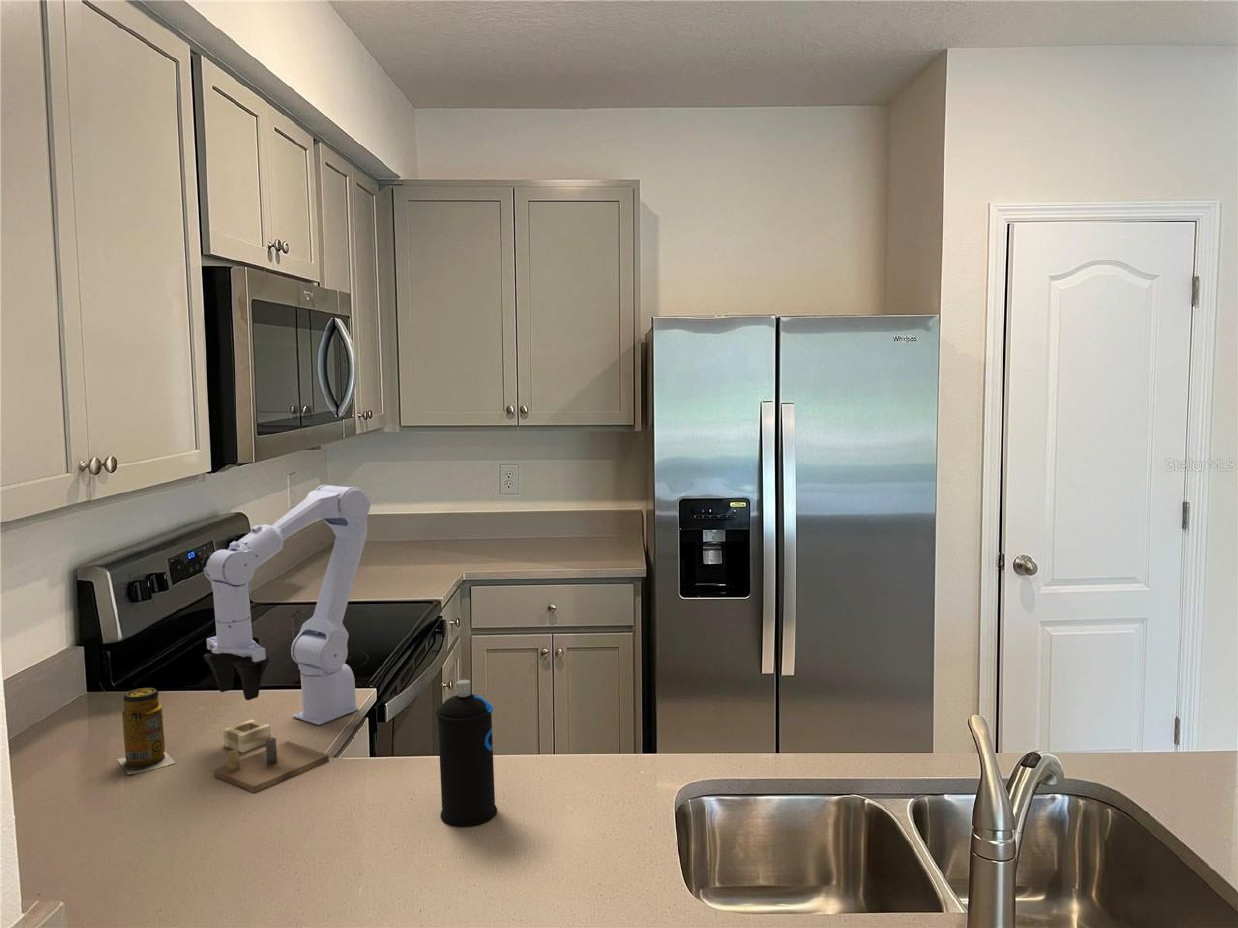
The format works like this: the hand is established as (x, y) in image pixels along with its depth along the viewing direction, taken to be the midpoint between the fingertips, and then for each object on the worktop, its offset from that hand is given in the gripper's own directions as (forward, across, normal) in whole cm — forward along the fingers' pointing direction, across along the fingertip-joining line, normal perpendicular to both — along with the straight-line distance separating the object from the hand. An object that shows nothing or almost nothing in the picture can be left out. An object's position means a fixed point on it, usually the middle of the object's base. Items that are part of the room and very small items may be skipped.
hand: (238, 694), depth 164 cm
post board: (+9, +13, -3) cm, 16 cm away
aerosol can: (+10, +52, +3) cm, 53 cm away
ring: (+9, 0, +1) cm, 9 cm away
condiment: (+10, -8, -13) cm, 18 cm away
